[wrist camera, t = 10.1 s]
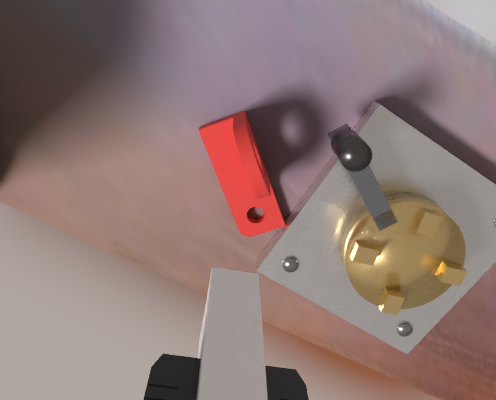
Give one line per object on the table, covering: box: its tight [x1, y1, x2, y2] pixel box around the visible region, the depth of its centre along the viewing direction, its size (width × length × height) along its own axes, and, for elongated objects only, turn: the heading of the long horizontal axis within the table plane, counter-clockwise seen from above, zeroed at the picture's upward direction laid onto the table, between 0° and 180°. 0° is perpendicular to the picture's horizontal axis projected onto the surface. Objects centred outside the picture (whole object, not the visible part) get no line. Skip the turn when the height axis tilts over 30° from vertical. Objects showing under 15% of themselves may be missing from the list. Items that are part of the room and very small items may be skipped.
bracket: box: [199, 111, 285, 237], centre depth 42 cm, size 12×4×8 cm, turn 20°
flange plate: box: [256, 101, 496, 354], centre depth 47 cm, size 20×20×2 cm
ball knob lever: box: [328, 124, 467, 315], centre depth 41 cm, size 20×11×7 cm, turn 30°
